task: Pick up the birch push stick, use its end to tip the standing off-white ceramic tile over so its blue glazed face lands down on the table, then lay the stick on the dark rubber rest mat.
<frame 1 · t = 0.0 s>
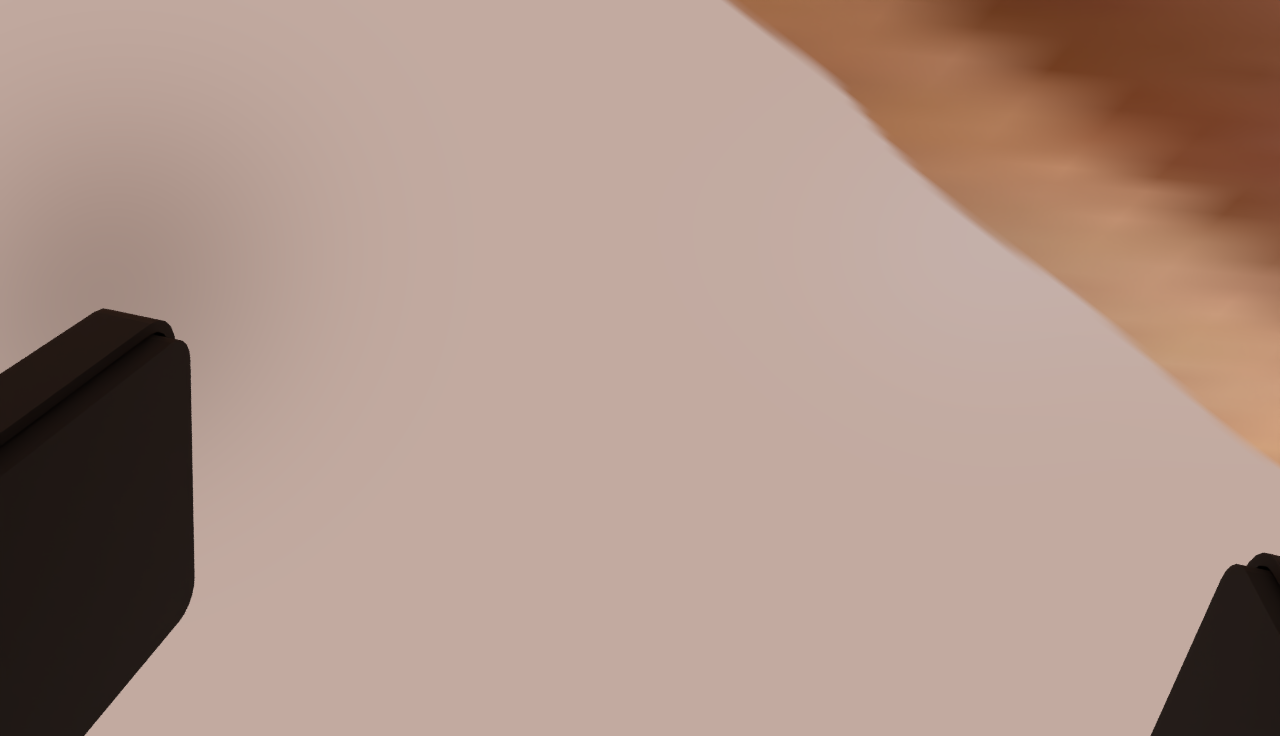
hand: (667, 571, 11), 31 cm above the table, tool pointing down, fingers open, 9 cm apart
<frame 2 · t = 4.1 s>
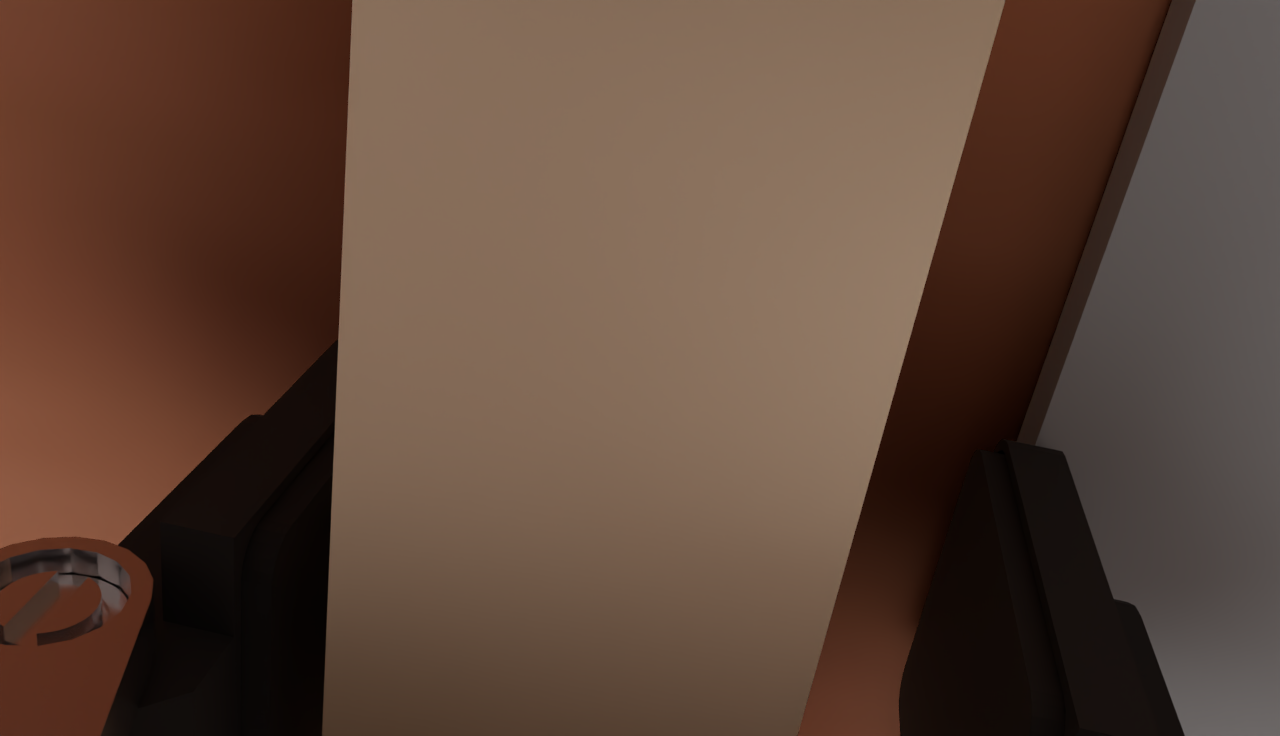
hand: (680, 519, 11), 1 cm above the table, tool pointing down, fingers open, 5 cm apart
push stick: (650, 430, 12), on the table
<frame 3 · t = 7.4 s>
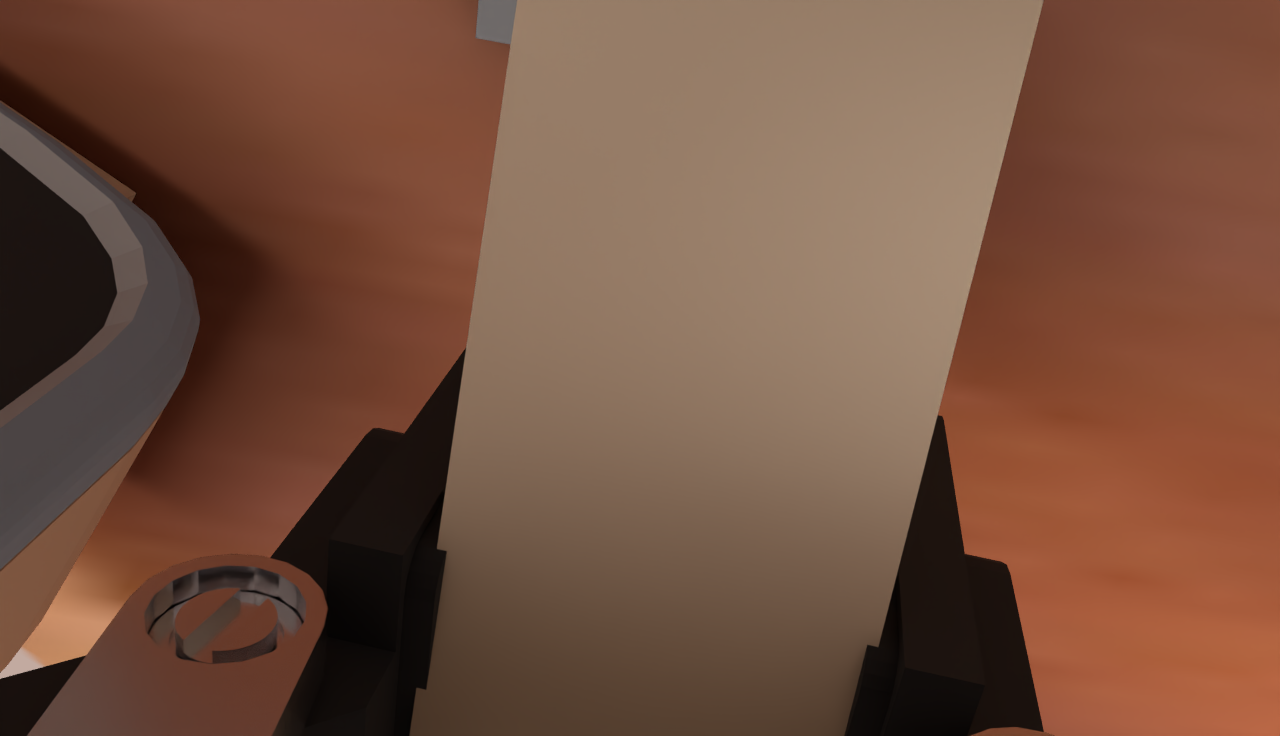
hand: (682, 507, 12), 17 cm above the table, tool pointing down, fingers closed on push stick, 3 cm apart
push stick: (691, 477, 13), point 16 cm above the table, tilted 12°, touching gripper
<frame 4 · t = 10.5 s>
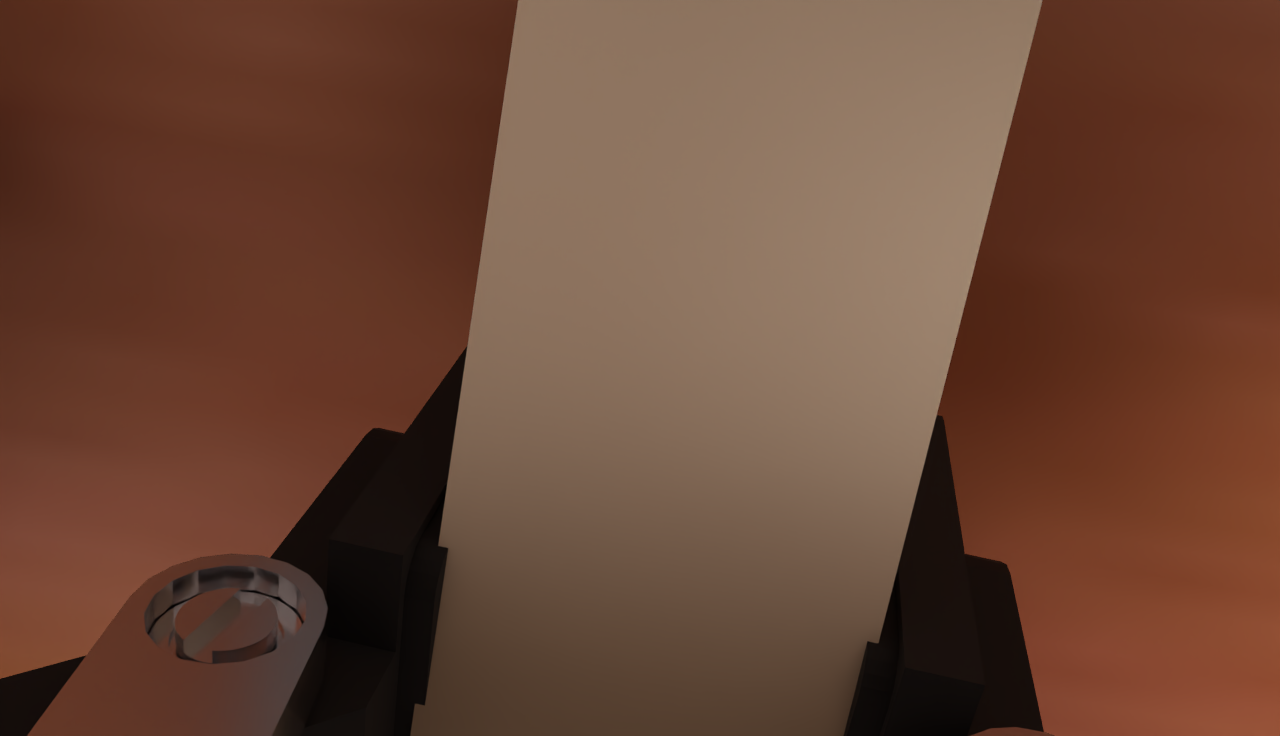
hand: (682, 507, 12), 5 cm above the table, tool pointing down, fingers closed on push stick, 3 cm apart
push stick: (691, 477, 13), point 4 cm above the table, tilted 11°, touching gripper
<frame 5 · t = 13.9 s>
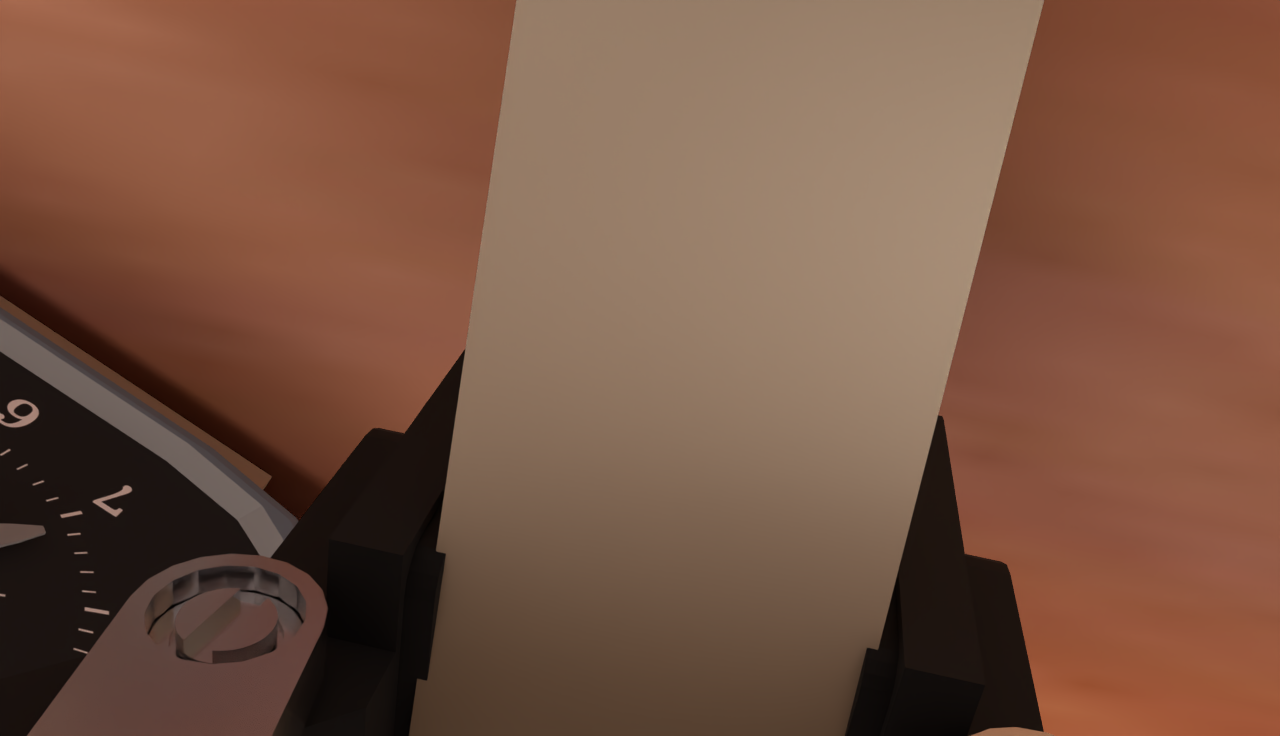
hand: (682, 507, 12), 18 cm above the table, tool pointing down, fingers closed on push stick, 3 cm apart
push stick: (691, 479, 13), point 17 cm above the table, tilted 12°, touching gripper
alarm clock: (59, 447, 36), on the table
when the fingers open (2 cm above the table, at t = 16.9 s): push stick stays where it is, resting on rest mat.
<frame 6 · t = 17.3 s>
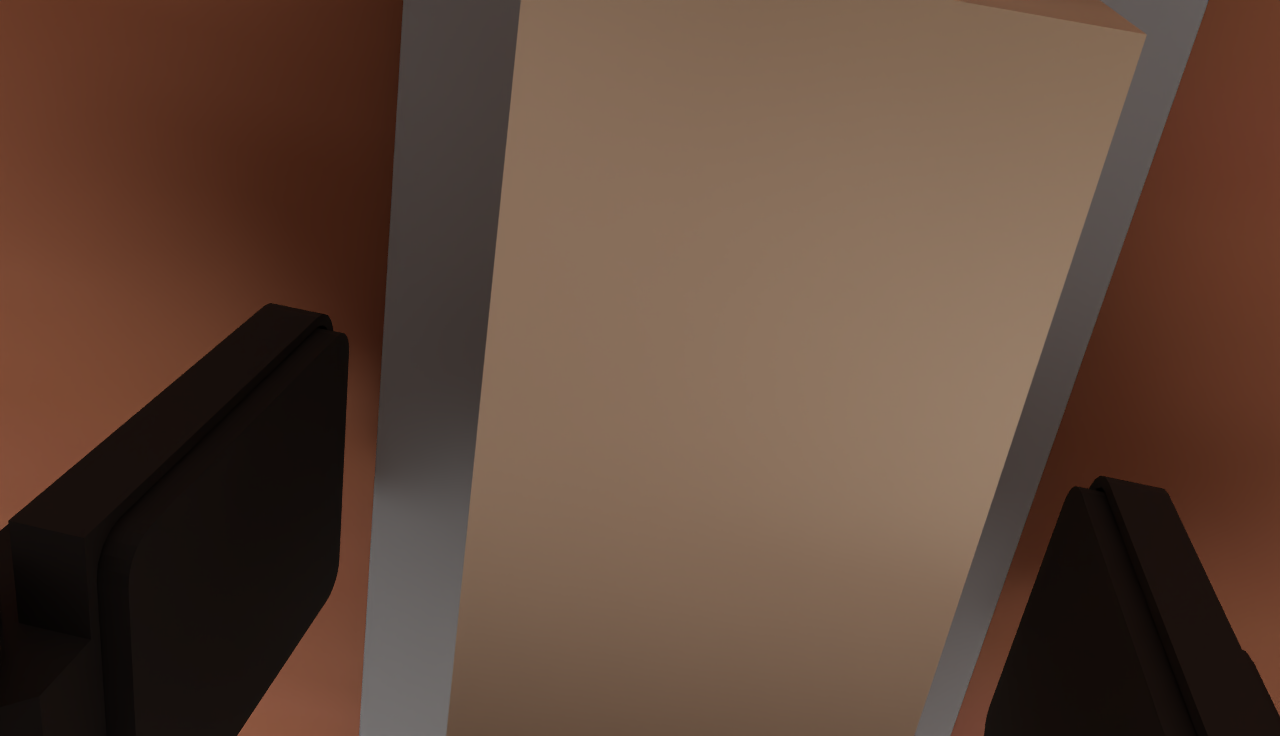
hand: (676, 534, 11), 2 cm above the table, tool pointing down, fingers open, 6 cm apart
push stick: (715, 494, 13), point 1 cm above the table, touching rest mat
rest mat: (702, 426, 13), on the table
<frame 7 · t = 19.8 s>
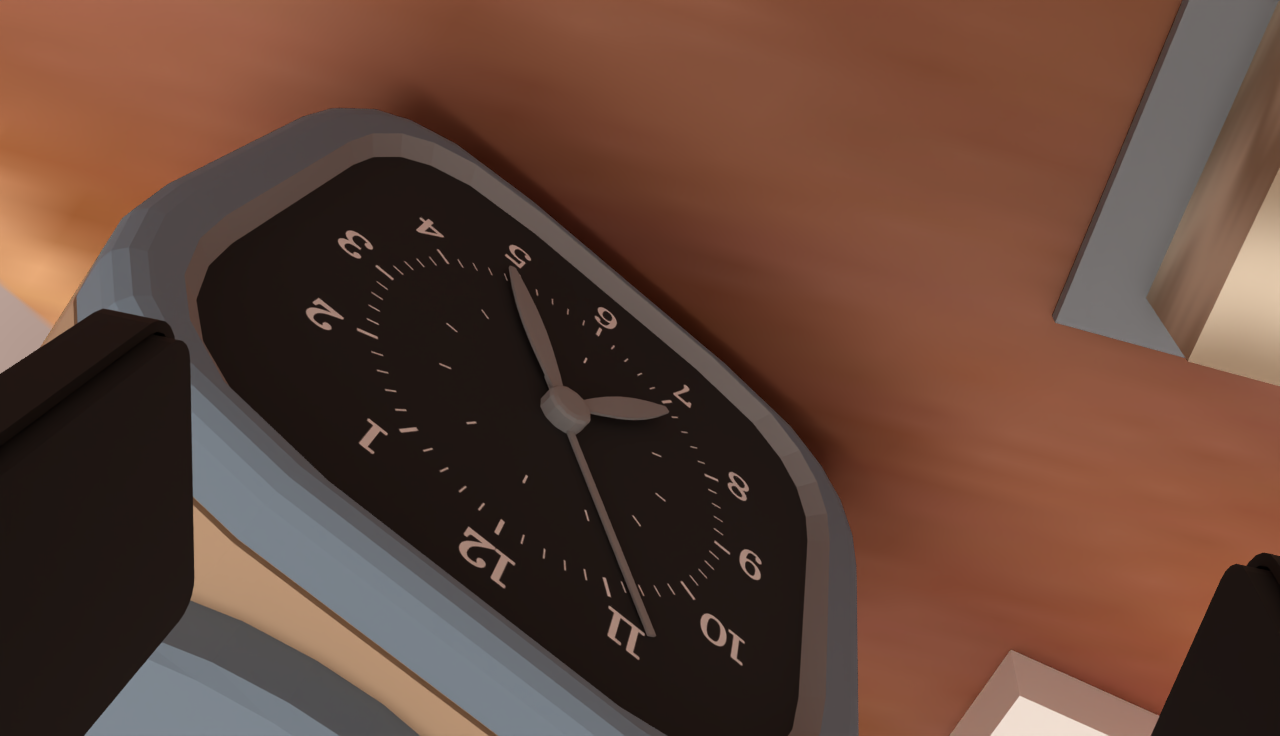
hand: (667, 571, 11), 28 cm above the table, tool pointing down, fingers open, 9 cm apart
rest mat: (1270, 102, 35), on the table
tile: (1115, 713, 43), point 1 cm above the table, tilted 90°
alarm clock: (555, 358, 42), on the table
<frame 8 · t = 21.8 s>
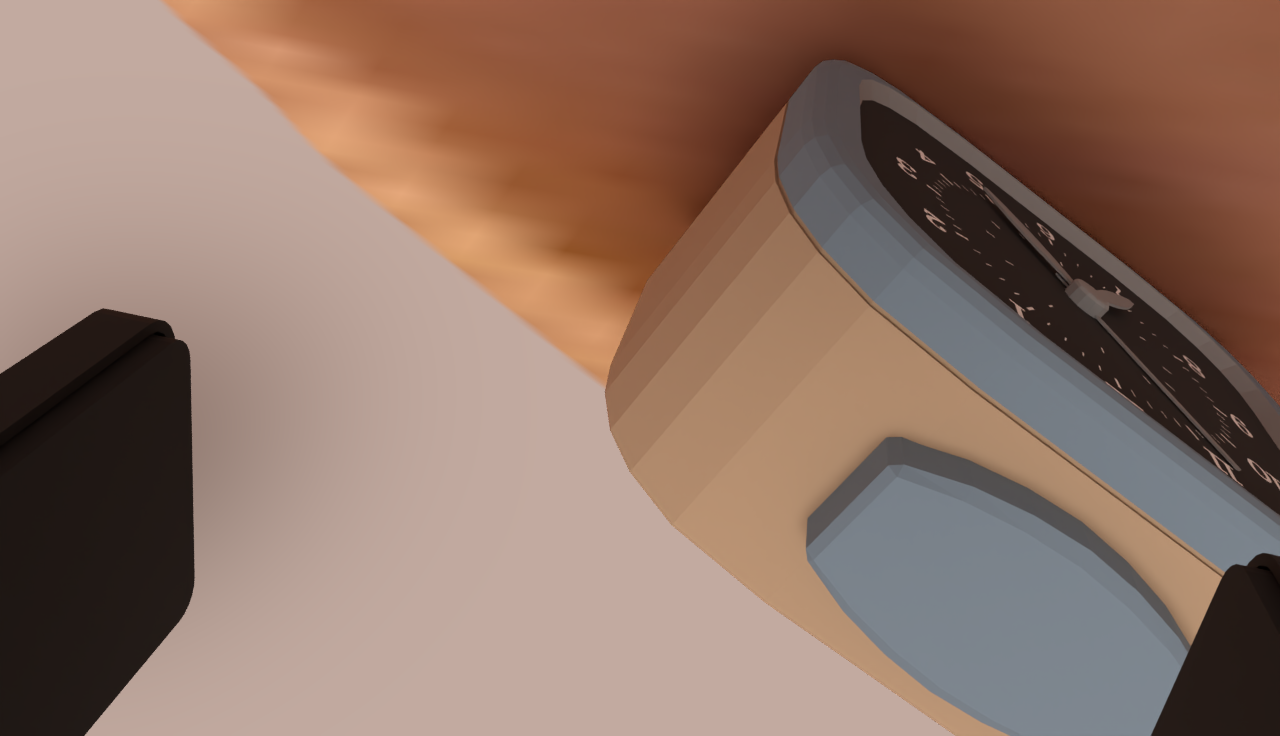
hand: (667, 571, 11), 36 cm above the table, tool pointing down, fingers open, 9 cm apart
alarm clock: (954, 280, 47), on the table
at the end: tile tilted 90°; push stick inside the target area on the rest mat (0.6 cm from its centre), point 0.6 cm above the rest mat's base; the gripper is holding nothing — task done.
